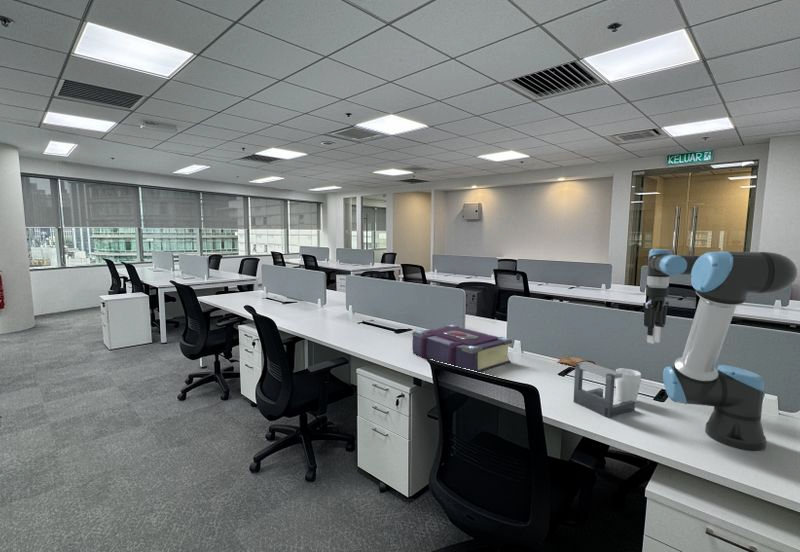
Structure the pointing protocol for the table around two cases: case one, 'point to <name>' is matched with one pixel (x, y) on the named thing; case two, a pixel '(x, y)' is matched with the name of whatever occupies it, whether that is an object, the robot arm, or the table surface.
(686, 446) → the table surface
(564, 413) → the table surface
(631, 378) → the cup
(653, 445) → the table surface
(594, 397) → the grey plastic frame
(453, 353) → the book
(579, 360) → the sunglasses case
